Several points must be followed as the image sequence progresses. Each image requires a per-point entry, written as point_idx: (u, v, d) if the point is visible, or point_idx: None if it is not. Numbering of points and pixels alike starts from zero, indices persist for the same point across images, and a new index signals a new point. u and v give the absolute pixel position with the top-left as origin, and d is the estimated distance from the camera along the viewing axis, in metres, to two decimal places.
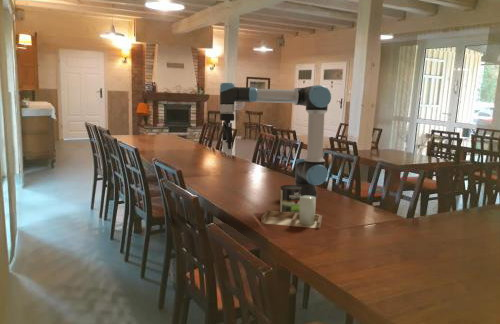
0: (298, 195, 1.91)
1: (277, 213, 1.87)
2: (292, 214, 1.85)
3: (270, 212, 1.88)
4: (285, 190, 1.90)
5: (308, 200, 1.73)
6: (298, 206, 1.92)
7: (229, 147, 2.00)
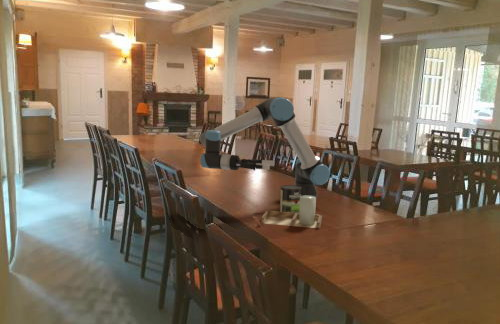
0: (298, 195, 1.91)
1: (277, 213, 1.87)
2: (292, 214, 1.85)
3: (270, 212, 1.88)
4: (285, 190, 1.90)
5: (308, 200, 1.73)
6: (298, 206, 1.92)
7: (260, 167, 1.88)
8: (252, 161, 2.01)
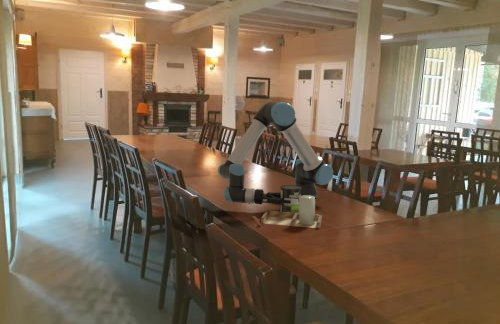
0: (298, 195, 1.91)
1: (277, 213, 1.87)
2: (292, 214, 1.85)
3: (270, 212, 1.88)
4: (285, 190, 1.90)
5: (308, 200, 1.73)
6: (298, 206, 1.92)
7: (288, 202, 1.88)
8: (277, 195, 1.99)
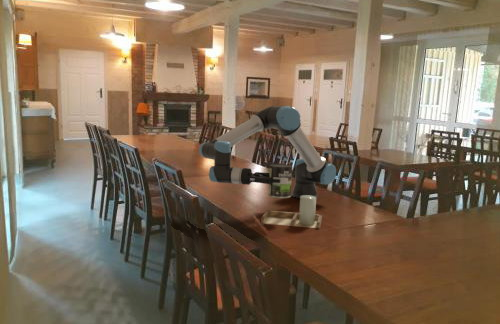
0: (288, 174, 1.75)
1: (277, 213, 1.87)
2: (292, 214, 1.85)
3: (270, 212, 1.88)
4: (274, 168, 1.74)
5: (309, 200, 1.72)
6: (288, 186, 1.76)
7: (278, 181, 1.72)
8: (266, 175, 1.84)
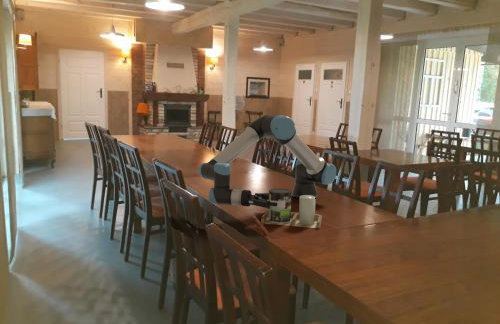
0: (288, 199, 1.76)
1: None
2: (292, 214, 1.85)
3: None
4: (273, 194, 1.75)
5: (309, 200, 1.72)
6: (288, 211, 1.76)
7: (275, 205, 1.72)
8: (265, 196, 1.85)
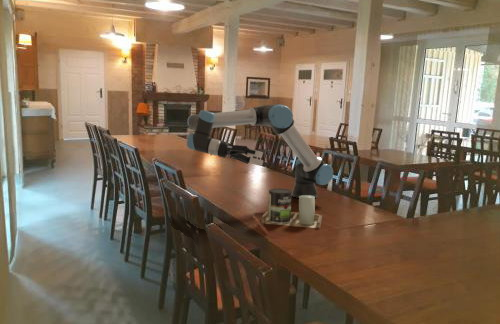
0: (288, 200, 1.75)
1: None
2: (292, 214, 1.85)
3: None
4: (273, 194, 1.75)
5: (310, 199, 1.73)
6: (288, 211, 1.76)
7: (253, 152, 1.78)
8: (241, 154, 1.90)
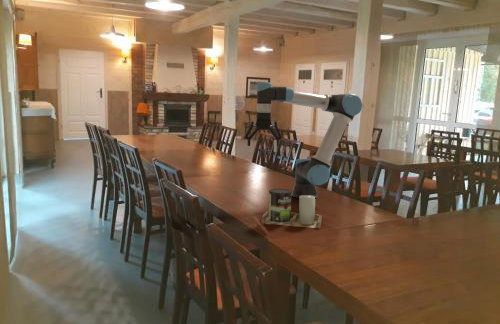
0: (288, 200, 1.75)
1: None
2: (292, 214, 1.85)
3: None
4: (274, 194, 1.75)
5: (311, 199, 1.74)
6: (288, 212, 1.76)
7: None
8: None
